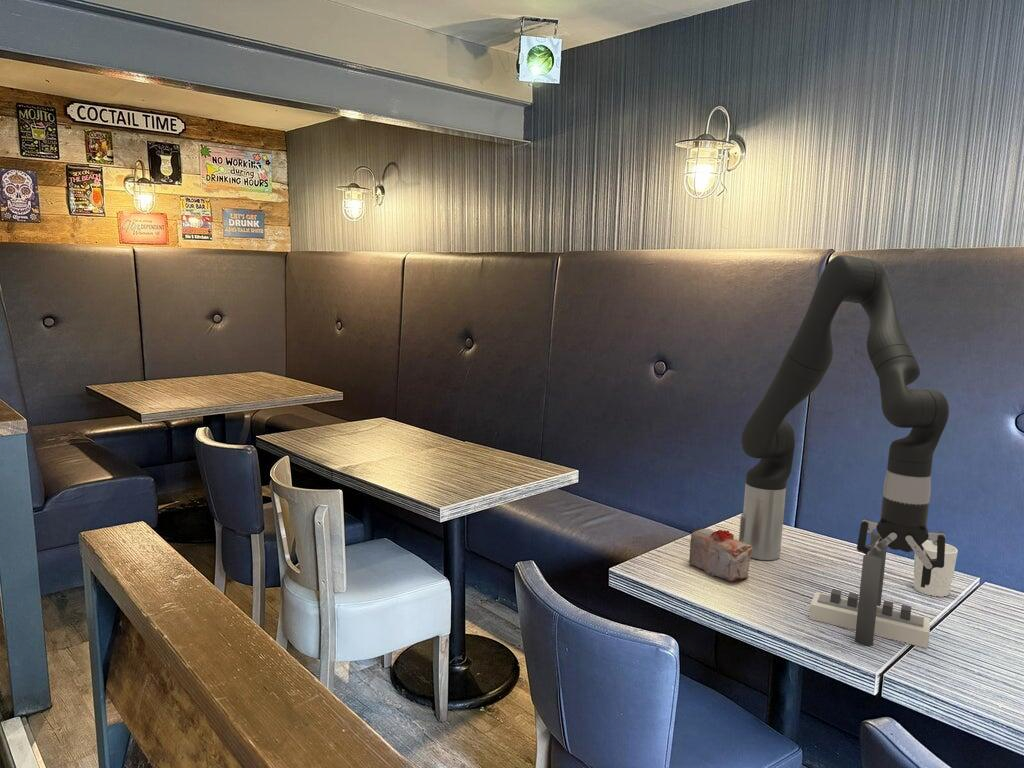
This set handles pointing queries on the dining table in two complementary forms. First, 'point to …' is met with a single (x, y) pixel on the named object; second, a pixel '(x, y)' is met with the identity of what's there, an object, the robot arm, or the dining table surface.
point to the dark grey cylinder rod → (882, 555)
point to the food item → (720, 554)
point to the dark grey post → (868, 600)
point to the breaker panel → (886, 623)
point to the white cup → (936, 571)
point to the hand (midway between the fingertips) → (896, 580)
